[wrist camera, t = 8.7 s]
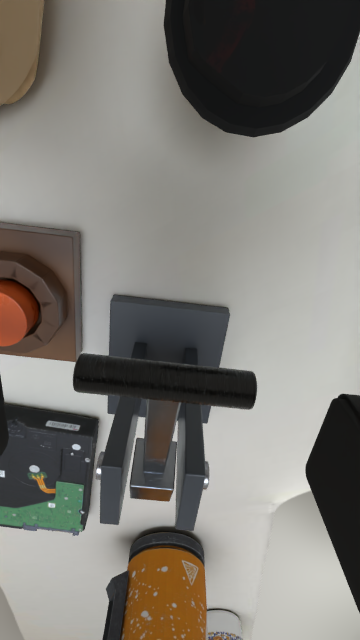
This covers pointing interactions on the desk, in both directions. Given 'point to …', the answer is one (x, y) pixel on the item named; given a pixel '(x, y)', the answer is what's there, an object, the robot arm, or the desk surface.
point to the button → (16, 312)
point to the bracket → (148, 344)
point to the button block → (45, 288)
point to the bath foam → (223, 625)
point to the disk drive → (47, 470)
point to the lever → (161, 406)
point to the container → (19, 46)
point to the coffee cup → (259, 58)
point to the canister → (159, 592)
